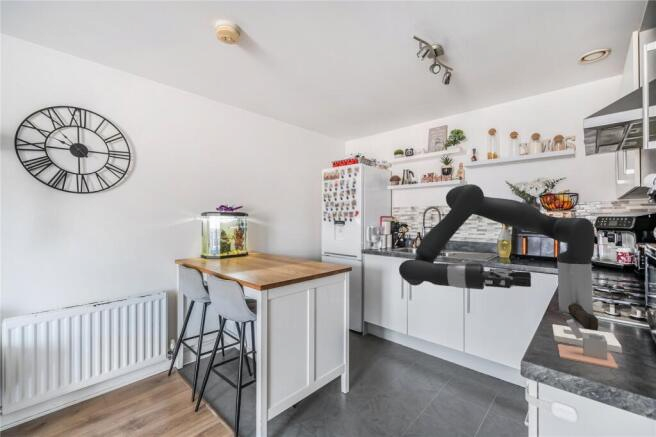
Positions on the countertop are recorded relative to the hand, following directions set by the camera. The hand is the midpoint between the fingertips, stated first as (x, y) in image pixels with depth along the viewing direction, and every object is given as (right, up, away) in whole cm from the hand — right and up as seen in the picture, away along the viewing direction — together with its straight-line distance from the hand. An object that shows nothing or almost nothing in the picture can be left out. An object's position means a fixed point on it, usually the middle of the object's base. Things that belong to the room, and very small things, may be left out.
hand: (530, 279), depth 78 cm
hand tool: (+26, -17, +12) cm, 33 cm away
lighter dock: (+15, -17, 0) cm, 22 cm away
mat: (+7, -17, -9) cm, 20 cm away
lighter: (+7, -17, -9) cm, 20 cm away
